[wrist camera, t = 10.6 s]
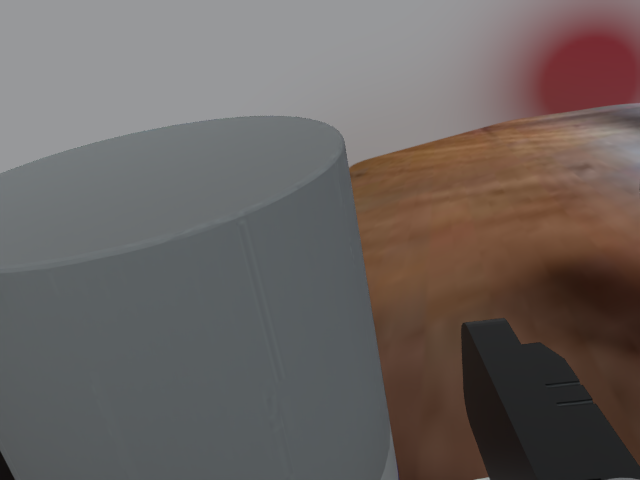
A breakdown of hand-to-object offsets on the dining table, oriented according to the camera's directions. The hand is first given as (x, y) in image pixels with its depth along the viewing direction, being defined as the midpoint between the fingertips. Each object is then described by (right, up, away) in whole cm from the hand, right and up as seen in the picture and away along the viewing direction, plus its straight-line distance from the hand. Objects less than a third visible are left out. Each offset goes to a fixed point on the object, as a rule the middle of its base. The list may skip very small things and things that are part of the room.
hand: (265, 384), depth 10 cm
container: (+1, -10, +2) cm, 10 cm away
